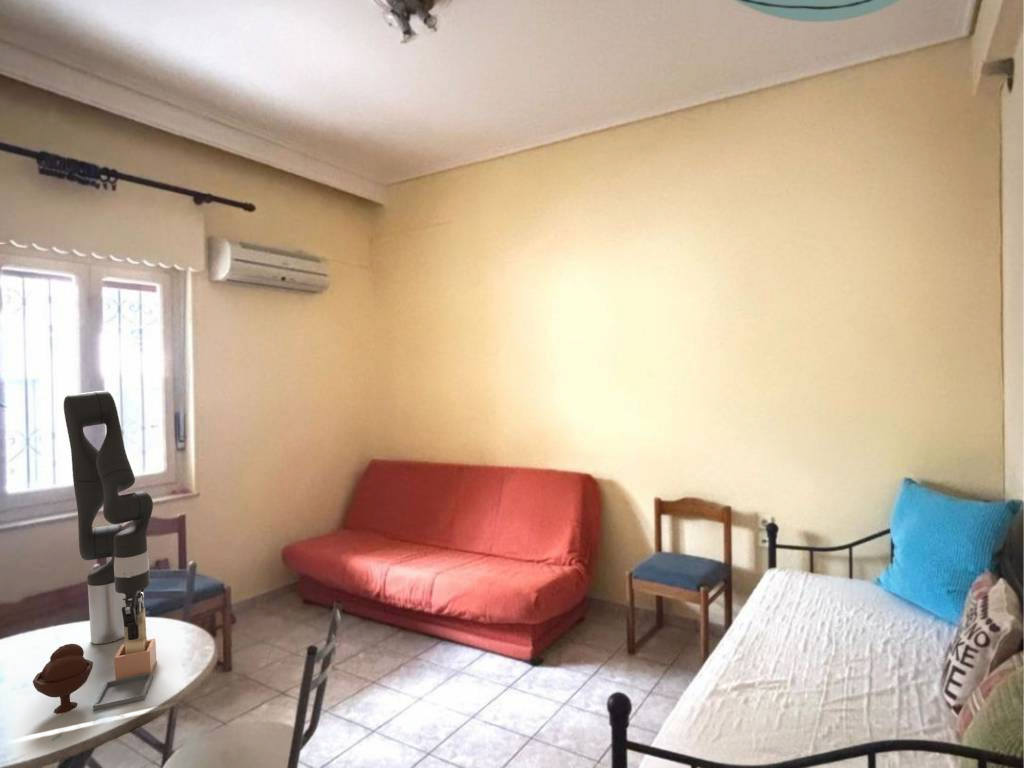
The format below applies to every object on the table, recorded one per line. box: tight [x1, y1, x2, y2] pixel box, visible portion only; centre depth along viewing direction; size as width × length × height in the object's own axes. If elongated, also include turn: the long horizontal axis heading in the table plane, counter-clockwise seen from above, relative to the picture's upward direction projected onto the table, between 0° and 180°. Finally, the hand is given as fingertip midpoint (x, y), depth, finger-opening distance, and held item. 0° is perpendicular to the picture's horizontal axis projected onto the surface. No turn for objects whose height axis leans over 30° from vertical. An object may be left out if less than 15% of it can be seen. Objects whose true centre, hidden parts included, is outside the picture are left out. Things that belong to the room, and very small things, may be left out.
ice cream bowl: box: [32, 643, 94, 715], centre depth 132 cm, size 11×11×15 cm
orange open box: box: [113, 638, 158, 680], centre depth 147 cm, size 8×8×7 cm
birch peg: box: [123, 607, 148, 655], centre depth 147 cm, size 4×4×14 cm
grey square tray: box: [92, 671, 154, 712], centre depth 137 cm, size 11×10×2 cm
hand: (135, 634), depth 147 cm, fingers closed on birch peg, 4 cm apart
